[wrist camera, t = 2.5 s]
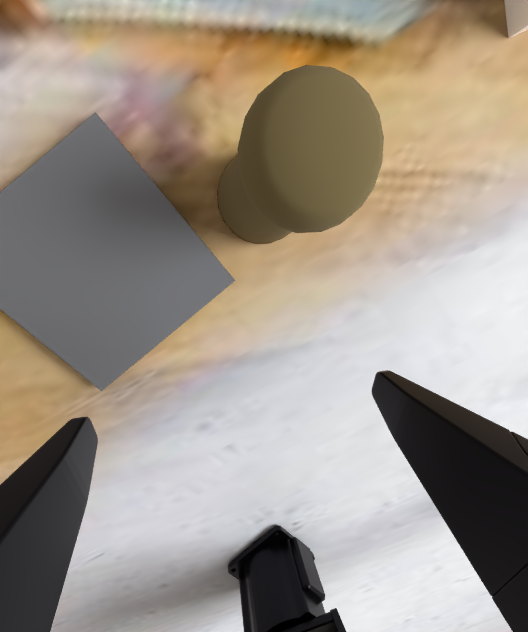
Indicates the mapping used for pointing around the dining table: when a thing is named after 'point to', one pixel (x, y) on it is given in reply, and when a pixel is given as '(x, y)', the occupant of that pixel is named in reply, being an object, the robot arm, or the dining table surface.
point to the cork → (302, 156)
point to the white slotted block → (516, 16)
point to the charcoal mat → (99, 256)
